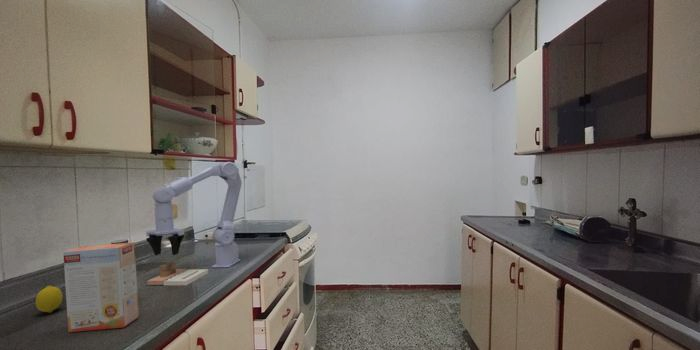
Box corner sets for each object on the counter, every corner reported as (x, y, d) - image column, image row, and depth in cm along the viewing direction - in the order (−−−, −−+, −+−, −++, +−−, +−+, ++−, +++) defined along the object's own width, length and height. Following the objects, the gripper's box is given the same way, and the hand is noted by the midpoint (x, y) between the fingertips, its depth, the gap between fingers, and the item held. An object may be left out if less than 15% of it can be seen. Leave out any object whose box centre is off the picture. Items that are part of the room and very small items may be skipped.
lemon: (60, 306, 88) (58, 281, 87) (66, 310, 85) (64, 283, 85) (33, 315, 83) (32, 288, 83) (39, 319, 80) (37, 291, 80)
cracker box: (140, 316, 77) (135, 241, 77) (123, 328, 71) (118, 247, 71) (88, 320, 77) (83, 244, 77) (67, 333, 71) (61, 250, 71)
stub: (173, 272, 113) (172, 259, 113) (187, 272, 112) (186, 259, 112) (147, 284, 102) (146, 269, 101) (162, 284, 101) (162, 269, 101)
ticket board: (187, 273, 112) (187, 269, 112) (208, 273, 111) (208, 269, 111) (163, 285, 101) (163, 280, 101) (186, 285, 99) (186, 280, 99)
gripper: (138, 221, 104) (140, 257, 104) (173, 219, 102) (175, 257, 102) (154, 218, 111) (156, 252, 111) (187, 216, 109) (189, 251, 109)
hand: (166, 254), depth 107 cm, fingers open, 7 cm apart
